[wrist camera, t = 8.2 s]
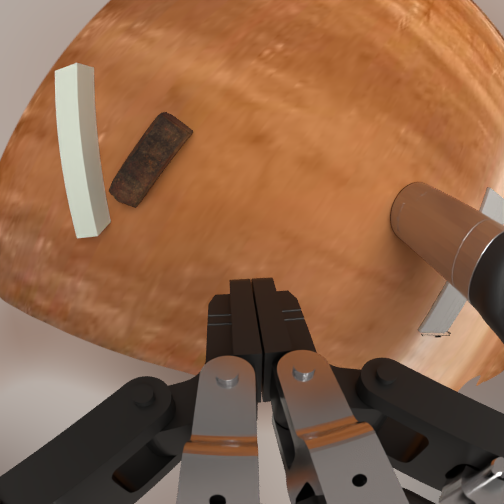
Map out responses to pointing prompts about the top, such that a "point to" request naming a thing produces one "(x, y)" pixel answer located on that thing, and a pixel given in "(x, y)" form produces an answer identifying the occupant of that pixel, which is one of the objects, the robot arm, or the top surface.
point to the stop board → (80, 149)
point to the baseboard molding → (449, 297)
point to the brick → (149, 159)
